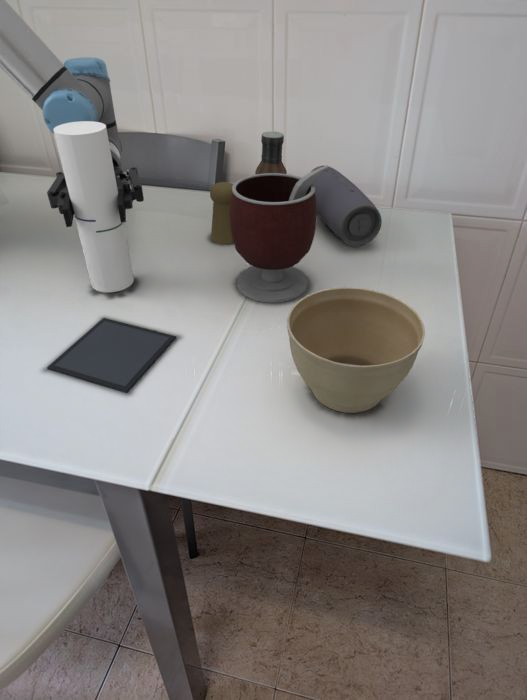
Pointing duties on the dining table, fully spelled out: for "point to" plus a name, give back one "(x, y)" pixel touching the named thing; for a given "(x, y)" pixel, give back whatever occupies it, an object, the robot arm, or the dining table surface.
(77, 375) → the charcoal mat
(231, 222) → the mate gourd
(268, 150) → the sauce bottle
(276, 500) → the dining table surface
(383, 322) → the planter bowl
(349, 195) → the bluetooth speaker
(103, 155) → the cylindrical container
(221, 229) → the olive pepper mill
